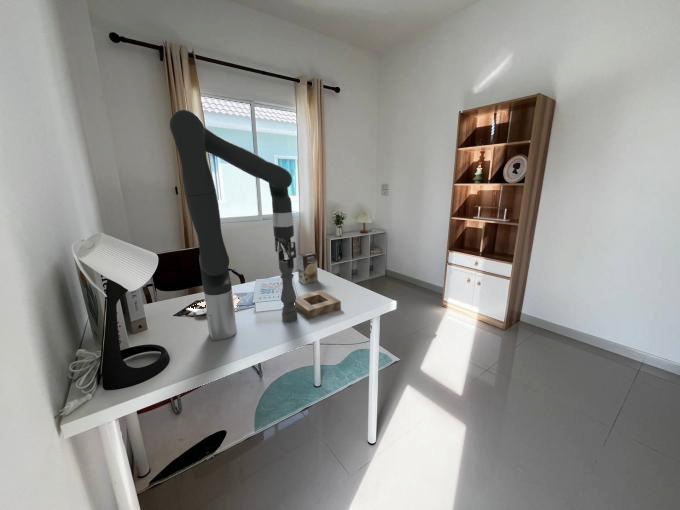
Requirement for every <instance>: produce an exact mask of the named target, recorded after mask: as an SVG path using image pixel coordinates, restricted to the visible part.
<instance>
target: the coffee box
mask: <svg viewBox="0 0 680 510" xmlns="http://www.w3.org/2000/svg"><path fill="white" fill-rule="evenodd" d="M297 268H298V269H297V271H298V283H301V284H303V285H307V284H310V283H315V282H318V281H319V279H318V253H316V252H312V251H309V252H302V253H301V252H300V253H297Z"/></svg>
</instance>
